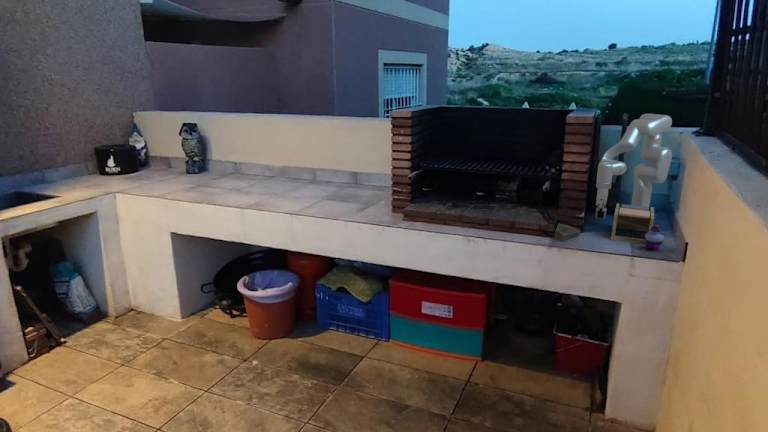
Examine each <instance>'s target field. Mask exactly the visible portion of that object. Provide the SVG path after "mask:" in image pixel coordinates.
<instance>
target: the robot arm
mask: <svg viewBox="0 0 768 432" xmlns="http://www.w3.org/2000/svg"><path fill="white" fill-rule="evenodd" d="M672 124H673V119H672V117H671V116H670V115H667V114H656V113H644V114H642V115H641V116H640V117H639V118H637V119H633V120H632V121H631V122H630V124H629V125H628V127H627V128H626V131H625V132H624V134H623V136H622V137H621V139H620V141H619V142H617V143H616V144H613V146H611V147H610V148H609V149H607V150H606V151H605V153H604V154H603V156H602V157H601V160H600V162H599V163H598V165H597V172H596V173H597V174H596V175H597V176H596V185H595V187H596V188H597V191H596V193H597V194H596V201H595V206H597V207H598V213H597V218H603V216H604V208H606V204H607V202H608V197H609V189H612V181H613V176H620V175H621V176H622V175H623V174H625V173H626V171H627V169H628V167H627V164H626V163H625V162H623V161H619V160H615V159H614V158H615V157H617V156H619V155H620V154H623V153H627V152H630V151H632V150H636V147H637V146H638V144H639V142H640V140H641V139H642V137H643V136H644V140H643V144H642V149H641V153H640V158H641V160H643V161H645V162H649V163H639V164H637V165H636V166H635V167H634V171H633V172H634V173H633V177H634V180H633V181H634V183H633V190H632V197H631V203H630V205H634V206H643V207H649V208H650V204H651V199H652V198H651V197H652V192H653V186H652V183H655V184H662V183H664V182H665V181H666V180H667V177H668V174H669V170H670V167H671V162H672V159H673V151H672V150H671V149H670V148H669V147H667V146H662V144H661V143H662V140H663V139H662V138H663V137H662V133H664V132H667V131H668V130H669V129H670V128H671V127H672ZM650 163H653V164H650ZM597 218H596V219H597Z"/></svg>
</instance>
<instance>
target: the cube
mask: <svg viewBox="0 0 768 432" xmlns="http://www.w3.org/2000/svg"><path fill="white" fill-rule="evenodd" d="M598 207H599V206H597V207H596V209H595V217H594V218H595V219H599V220H606V216H607V207H605V208H604V216H603V218H597V213H598Z"/></svg>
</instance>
